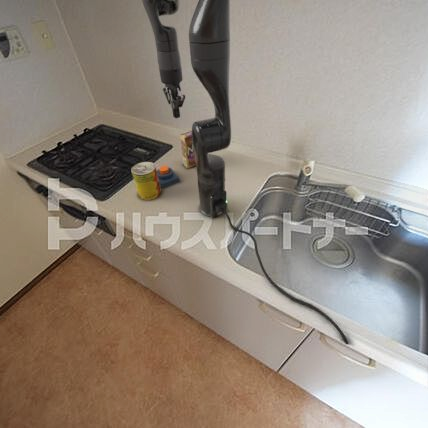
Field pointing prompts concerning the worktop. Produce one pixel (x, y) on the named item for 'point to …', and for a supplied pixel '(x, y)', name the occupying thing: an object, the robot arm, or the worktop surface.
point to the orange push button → (167, 178)
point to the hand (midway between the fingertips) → (176, 117)
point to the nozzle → (164, 170)
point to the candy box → (188, 149)
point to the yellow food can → (146, 180)
